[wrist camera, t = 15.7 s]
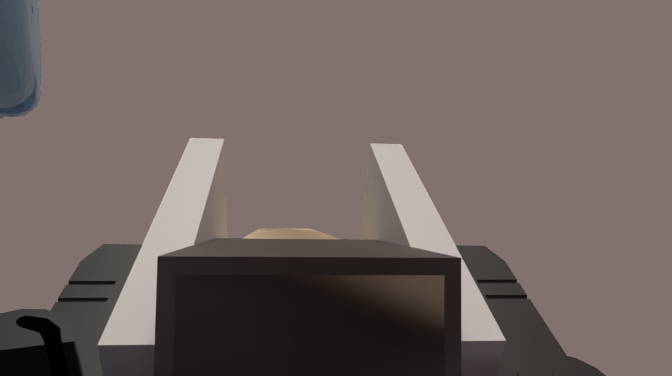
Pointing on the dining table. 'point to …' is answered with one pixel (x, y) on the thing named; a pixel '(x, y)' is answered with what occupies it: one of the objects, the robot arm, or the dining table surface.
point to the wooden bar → (307, 308)
